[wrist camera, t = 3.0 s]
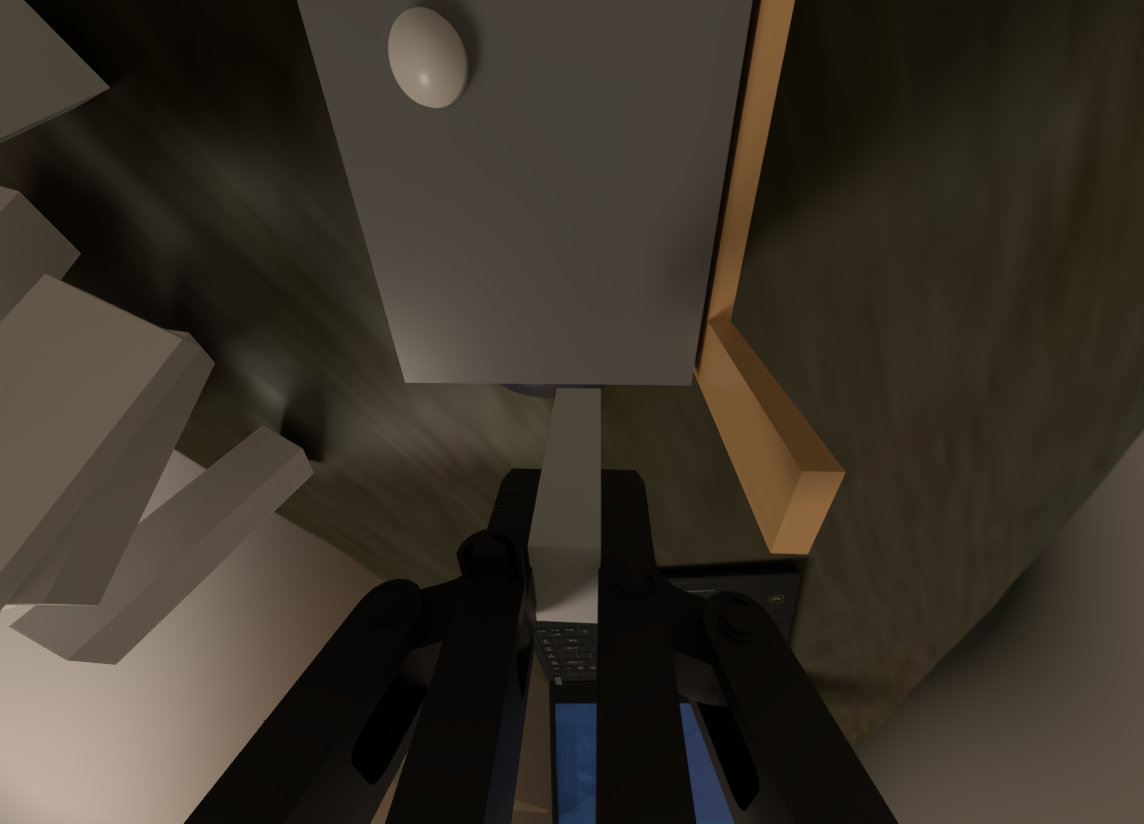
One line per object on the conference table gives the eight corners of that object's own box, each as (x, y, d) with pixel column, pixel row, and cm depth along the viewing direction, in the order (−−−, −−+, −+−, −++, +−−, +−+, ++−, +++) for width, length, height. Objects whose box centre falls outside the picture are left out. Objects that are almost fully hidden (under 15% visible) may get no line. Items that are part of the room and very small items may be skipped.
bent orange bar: (700, -9, 20) (1426, -1162, 2) (720, -10, 20) (1618, -1199, 2) (666, 306, 29) (770, 552, 11) (680, 306, 29) (807, 554, 11)
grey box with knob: (422, 8, 21) (248, -132, 11) (690, -5, 20) (786, -171, 10) (474, 330, 31) (410, 422, 21) (657, 330, 30) (687, 426, 20)
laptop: (797, 556, 44) (913, 795, 28) (768, 707, 64) (826, 898, 47) (505, 574, 49) (458, 786, 32) (563, 709, 68) (551, 883, 52)
